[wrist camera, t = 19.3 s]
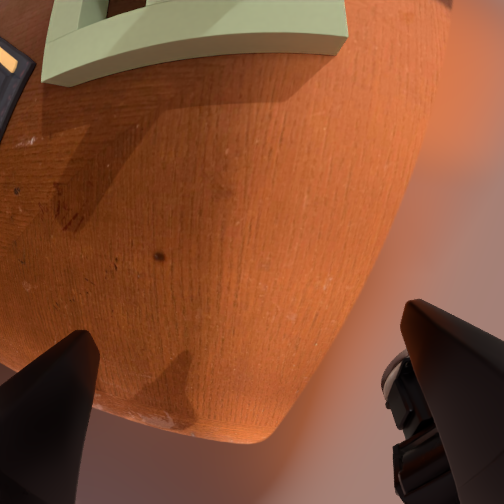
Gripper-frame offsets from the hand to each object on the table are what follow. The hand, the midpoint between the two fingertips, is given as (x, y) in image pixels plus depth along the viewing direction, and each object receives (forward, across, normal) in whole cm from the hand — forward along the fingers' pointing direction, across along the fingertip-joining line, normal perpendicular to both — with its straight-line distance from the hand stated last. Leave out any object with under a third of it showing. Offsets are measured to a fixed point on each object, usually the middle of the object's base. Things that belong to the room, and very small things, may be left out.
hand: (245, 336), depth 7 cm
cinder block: (+14, +2, -15) cm, 21 cm away
